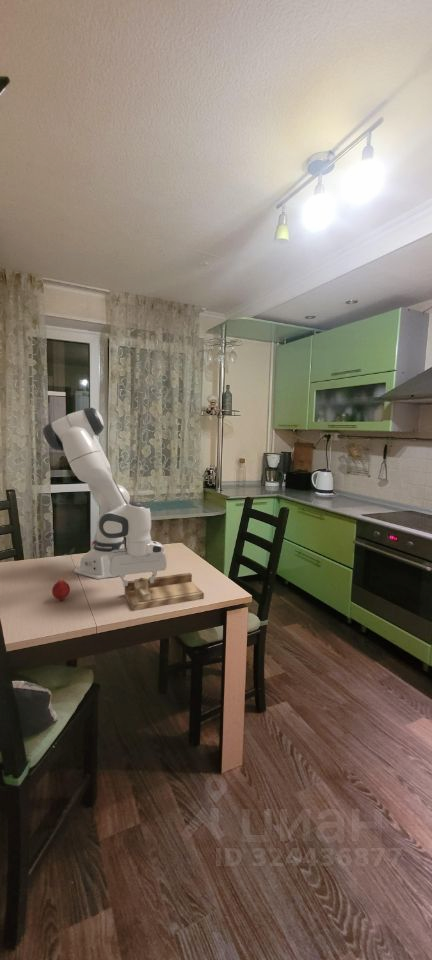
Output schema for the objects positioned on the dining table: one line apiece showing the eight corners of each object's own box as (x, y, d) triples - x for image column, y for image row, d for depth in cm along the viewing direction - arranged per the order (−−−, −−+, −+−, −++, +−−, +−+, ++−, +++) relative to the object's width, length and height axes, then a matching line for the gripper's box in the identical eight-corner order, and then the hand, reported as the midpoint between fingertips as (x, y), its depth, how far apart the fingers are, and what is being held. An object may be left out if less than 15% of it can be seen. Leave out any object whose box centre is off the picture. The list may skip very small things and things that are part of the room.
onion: (59, 605, 131) (58, 583, 131) (48, 601, 134) (48, 579, 134) (73, 599, 136) (73, 577, 136) (63, 595, 139) (62, 574, 139)
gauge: (141, 601, 131) (141, 587, 130) (134, 591, 140) (134, 577, 139) (152, 600, 133) (152, 585, 132) (145, 589, 142) (145, 576, 141)
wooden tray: (133, 610, 129) (133, 596, 128) (124, 594, 142) (124, 581, 141) (203, 598, 140) (203, 585, 140) (189, 584, 153) (189, 572, 152)
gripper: (110, 552, 129) (110, 591, 131) (168, 546, 138) (167, 583, 139) (107, 547, 135) (107, 584, 137) (163, 542, 143) (163, 577, 145)
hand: (138, 584), depth 138 cm, fingers open, 8 cm apart
